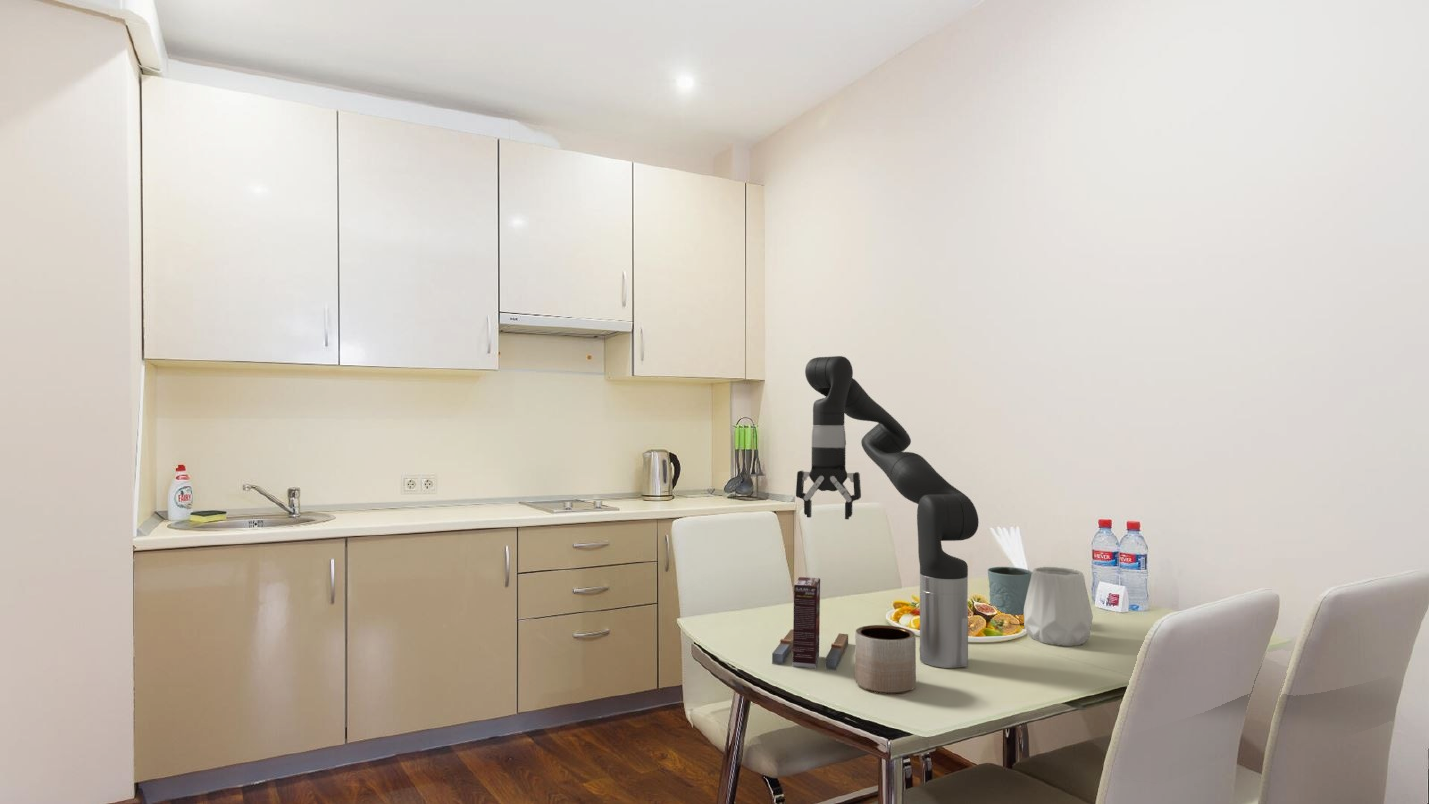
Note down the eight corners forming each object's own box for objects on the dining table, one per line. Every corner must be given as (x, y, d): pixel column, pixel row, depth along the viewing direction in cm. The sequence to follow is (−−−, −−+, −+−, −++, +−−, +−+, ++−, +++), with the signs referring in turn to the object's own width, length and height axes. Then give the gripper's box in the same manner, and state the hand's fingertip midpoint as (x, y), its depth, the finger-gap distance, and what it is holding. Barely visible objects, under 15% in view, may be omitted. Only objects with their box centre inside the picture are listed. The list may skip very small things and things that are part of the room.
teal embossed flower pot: (1026, 616, 197) (1026, 567, 198) (1036, 626, 187) (1036, 575, 188) (983, 614, 199) (984, 566, 199) (992, 624, 189) (992, 573, 189)
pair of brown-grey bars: (848, 643, 172) (848, 631, 172) (835, 669, 153) (835, 656, 153) (790, 638, 175) (790, 626, 175) (772, 663, 157) (772, 650, 157)
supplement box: (816, 669, 154) (817, 586, 154) (791, 667, 155) (792, 584, 155) (820, 656, 162) (820, 577, 163) (796, 654, 163) (797, 576, 164)
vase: (1094, 636, 179) (1093, 568, 180) (1091, 652, 167) (1091, 579, 167) (1027, 628, 186) (1027, 563, 186) (1020, 643, 173) (1020, 573, 174)
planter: (926, 685, 145) (926, 632, 145) (897, 700, 137) (897, 644, 137) (874, 672, 152) (874, 621, 153) (843, 685, 144) (843, 632, 145)
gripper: (793, 445, 177) (793, 518, 177) (858, 446, 173) (858, 521, 173) (800, 444, 184) (799, 515, 184) (862, 445, 180) (862, 517, 180)
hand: (828, 518), depth 178 cm, fingers open, 8 cm apart
